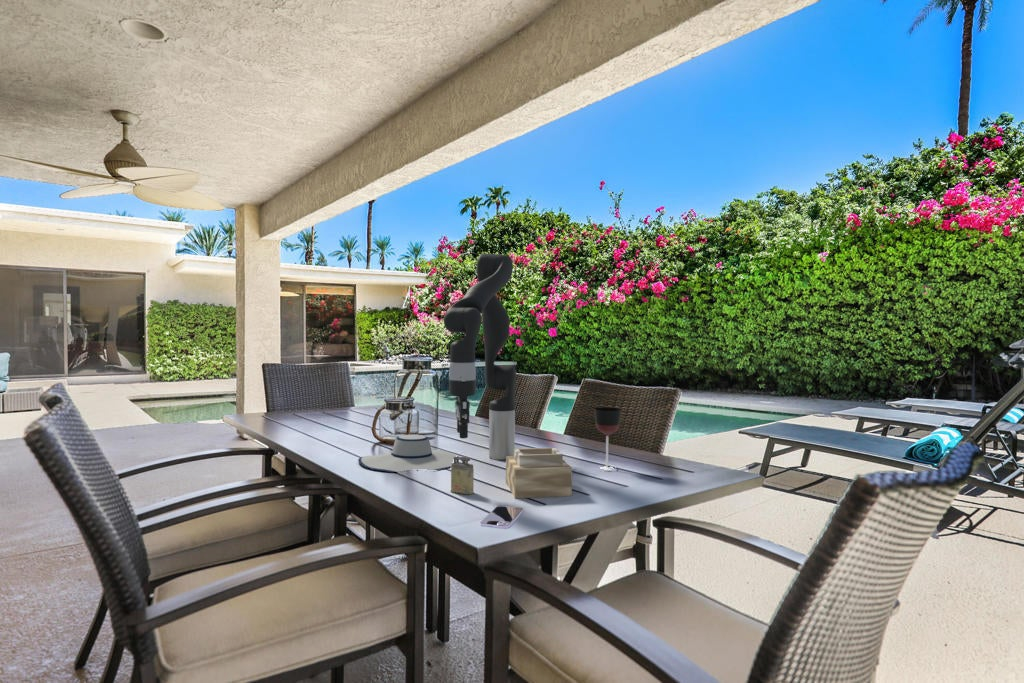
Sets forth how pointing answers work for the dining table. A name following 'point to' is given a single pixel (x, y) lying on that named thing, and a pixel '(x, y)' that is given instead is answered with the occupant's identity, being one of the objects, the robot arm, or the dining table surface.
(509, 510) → the mobile phone
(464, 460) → the lighter
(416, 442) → the sun hat
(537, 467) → the holder stand
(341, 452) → the dining table surface
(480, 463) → the dining table surface
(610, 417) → the wineglass
